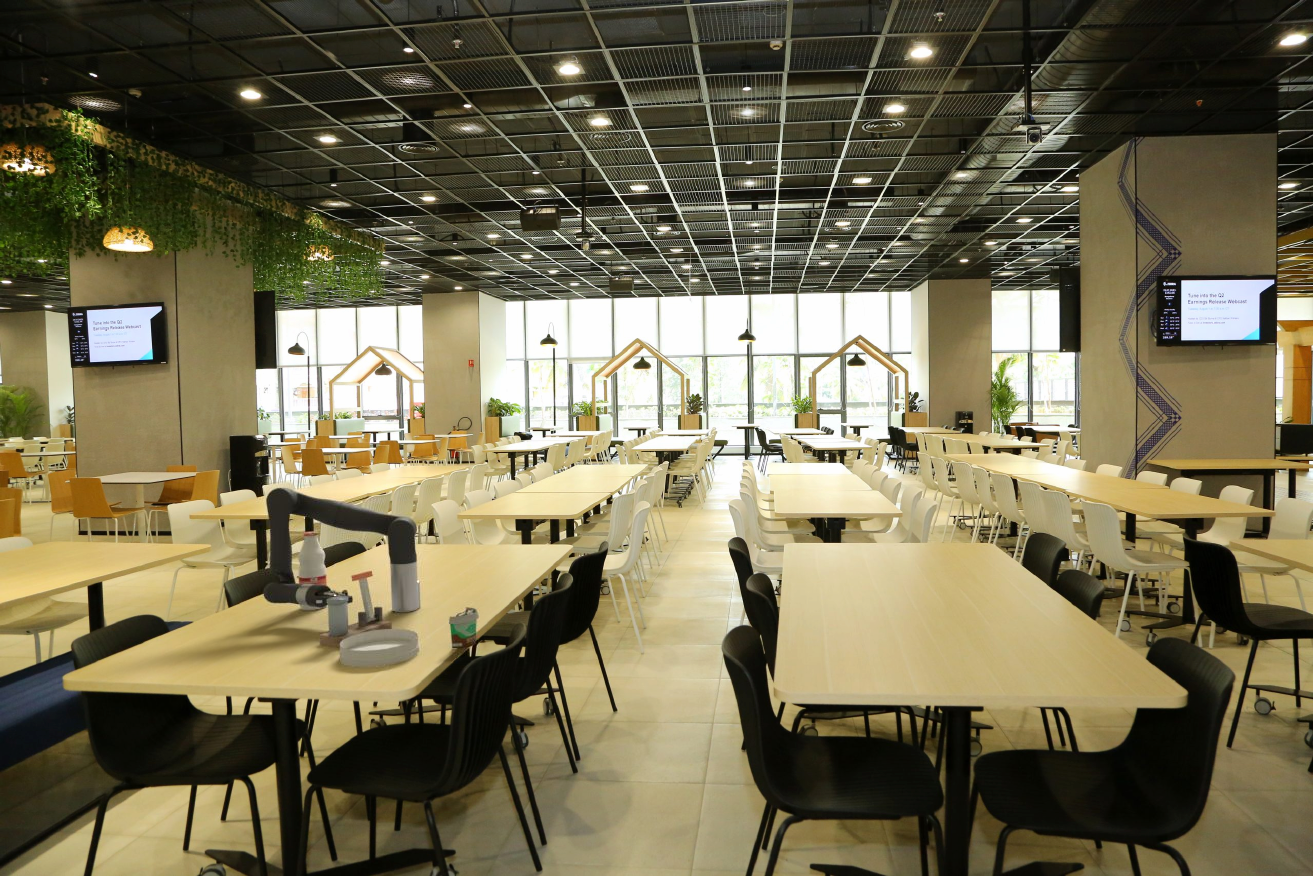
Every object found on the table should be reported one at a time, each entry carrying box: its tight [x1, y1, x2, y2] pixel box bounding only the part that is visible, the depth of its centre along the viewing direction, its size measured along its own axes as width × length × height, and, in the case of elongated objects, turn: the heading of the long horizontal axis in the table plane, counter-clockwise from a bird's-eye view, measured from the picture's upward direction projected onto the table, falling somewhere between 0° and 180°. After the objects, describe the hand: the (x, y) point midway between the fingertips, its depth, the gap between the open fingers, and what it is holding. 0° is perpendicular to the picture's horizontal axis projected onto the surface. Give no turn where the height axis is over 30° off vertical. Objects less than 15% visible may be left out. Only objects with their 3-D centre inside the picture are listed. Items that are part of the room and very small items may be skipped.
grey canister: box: [327, 596, 349, 637], centre depth 246 cm, size 6×6×11 cm
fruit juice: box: [297, 531, 328, 611], centre depth 293 cm, size 9×9×28 cm
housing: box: [319, 606, 393, 648], centre depth 253 cm, size 20×10×7 cm, turn 154°
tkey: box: [350, 570, 379, 624], centre depth 258 cm, size 7×2×16 cm, turn 154°
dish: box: [339, 628, 420, 668], centre depth 234 cm, size 22×22×5 cm
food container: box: [448, 607, 480, 650], centre depth 242 cm, size 12×6×10 cm, turn 168°
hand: (350, 599), depth 262 cm, fingers closed
